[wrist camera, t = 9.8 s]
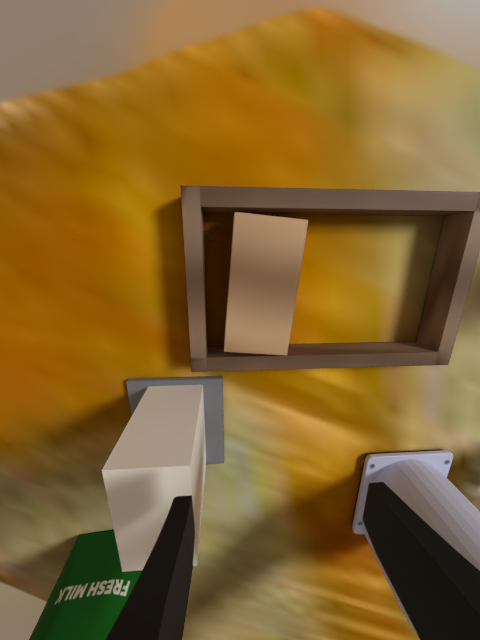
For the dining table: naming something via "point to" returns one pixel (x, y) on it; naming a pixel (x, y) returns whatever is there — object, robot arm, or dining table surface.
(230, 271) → the tan rectangular block
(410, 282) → the dining table surface
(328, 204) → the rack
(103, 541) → the milk carton
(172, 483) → the cream rectangular prism
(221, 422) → the mat
